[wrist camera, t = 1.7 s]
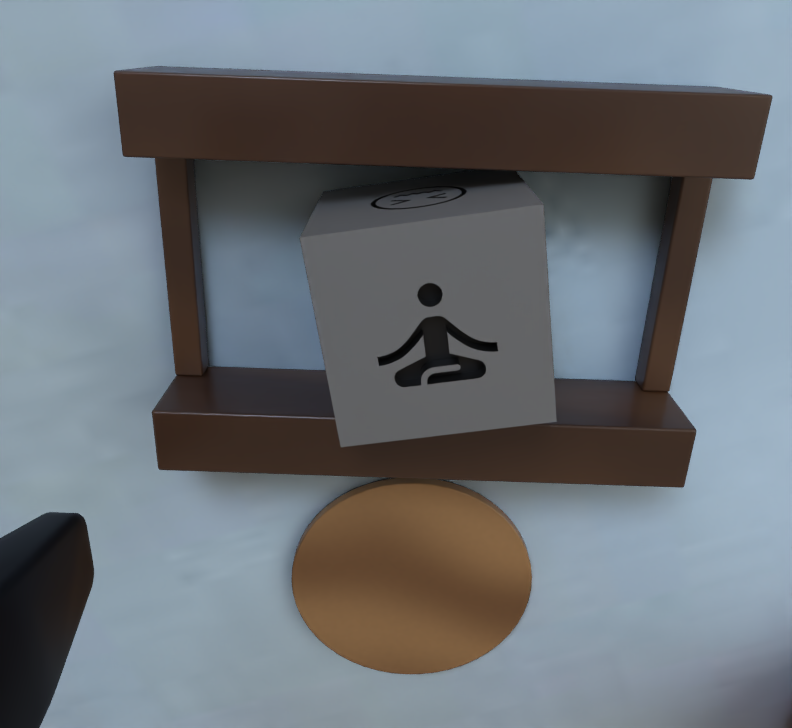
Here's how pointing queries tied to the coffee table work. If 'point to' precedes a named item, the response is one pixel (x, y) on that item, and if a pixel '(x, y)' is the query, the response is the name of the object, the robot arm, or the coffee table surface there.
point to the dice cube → (432, 306)
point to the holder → (431, 148)
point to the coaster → (411, 575)
